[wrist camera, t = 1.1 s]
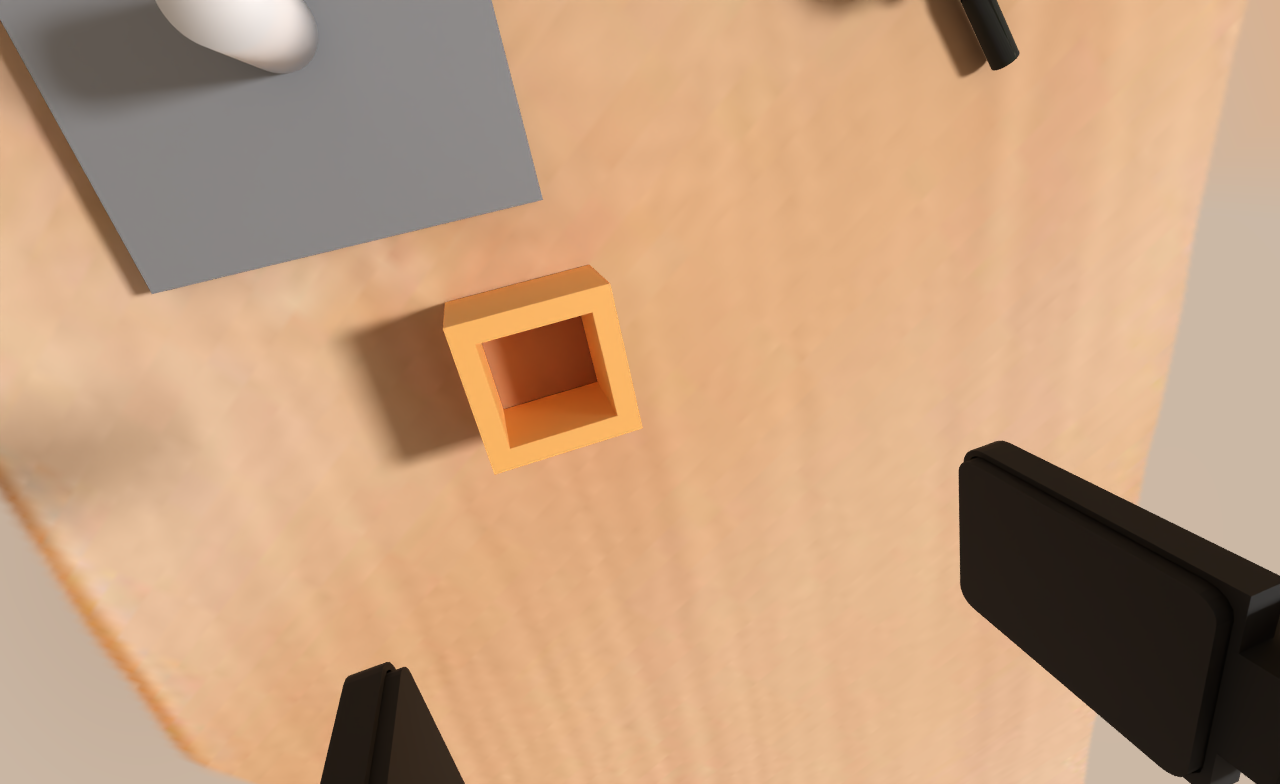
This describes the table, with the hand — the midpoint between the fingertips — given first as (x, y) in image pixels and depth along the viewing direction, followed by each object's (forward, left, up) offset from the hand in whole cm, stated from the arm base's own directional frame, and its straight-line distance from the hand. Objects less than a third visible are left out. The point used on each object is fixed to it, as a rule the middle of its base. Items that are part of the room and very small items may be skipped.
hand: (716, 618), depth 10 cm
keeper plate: (-13, -7, -22) cm, 26 cm away
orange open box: (+2, -1, -22) cm, 22 cm away
